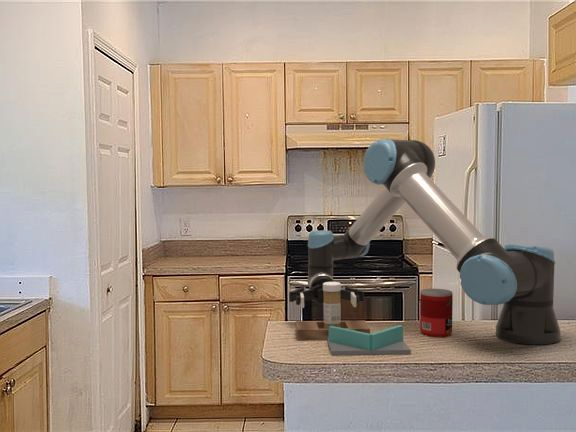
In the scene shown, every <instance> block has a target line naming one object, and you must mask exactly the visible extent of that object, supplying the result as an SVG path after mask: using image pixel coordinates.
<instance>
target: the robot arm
mask: <svg viewBox="0 0 576 432" xmlns="http://www.w3.org/2000/svg"><path fill="white" fill-rule="evenodd" d="M363 163H364V164H363V171H364V175H365V176H366V178H367V179H368V181H369V182H371V183H373V184H375V185H383V186H384V187H383V188H382V189H381V190H380V192H379V193H378V194H377V195H376V196H375V197H374V198H373V200H372V201H371V202H370V204H369V205H368V206H367V207H366V208H365V209H364V211H363V212H361V214H360V216H359V217H358V218H357V219H356V220H355V222H353V224H352V225H351V226H350V228H348V230H347V231H346V232H345V233H344V234H341V235H340V234H338V235H334V233H333V231H331V230H312V231H310V232H309V233H308V240H307V247H308V248H307V250H308V253H307V255H308V267H307V268H308V271H307V272H308V273H307V274H308V275H307V285H308V287H309V288H308V289H307V288H306V287H305V286H302V285H301V286H299V288H297V289H294V290H291V291H289V292H288V293H289V294H288V299H289V300H288V302H291V303H293V302H295V305H296V306H300V308H301V309H304V308H305V301H309V300H314V301H317V302H319V303H323V302H324V292H323V283H325V282H335V281H334V280H335V279H334V261H339V260H344V259H345V260H346V259H347V260H348V259H357V258H360V257H364V256H365V255H367V254H368V252H369V250H370V245H371V244H370V242H371V241H372V240H373V239H374V238H375V237H376V235H377V234H378V233H379V231H381V230H382V228H383V227H384V226H385V225H386V224H387V223H388V222H389V221H390V220H391V219H392V217H393V216H394V215H395V214H396V213H397V212H398V211H399V210H400V208H402V207H403V205H404V204H405V203H406V204H407V205H408V206H409V207H410V208H411V209H412V210H413V212H414V213H415V214H416V215H417V216H418V217H419V218H420V219H421V221H422V222H423V223H424V224H425V225H426V226H427V227H428V229H429V230H430V231H431V232H432V233H433V234H434V236H436V238H437V239H438V240H439V241H440V242H441V244H442V245H443V246H444V247H445V248H446V249H447V250H448V252H449V253H450V254H451V255H452V257H454V259H455V260H456V266H455V268H456V270H457V272H458V273H459V279H460V281H461V282H460V286H461V288H462V290H463V292H464V293H465V294H466V296H467V297H468V298H470V299H471V300H472V301H474V302H476V303H478V304H480V305H485V306H496V305H497V306H498V305H503V306H502V308H501V310H500V313H499V316H498V319H497V321H496V326H495V337H497V338H498V339H500V340H503V341H506V342H510V343H517V344H523V345H550V344H552V345H553V344H555V343H558V342H560V341H561V329H560V326H559V322H558V319H557V315H556V312H555V309H554V296H555V295H554V291H555V290H554V289H555V287H554V286H555V265H556V260H555V252H554V250H553V249H552V248H551V247H549V246H537V245H528V244H518V243H517V244H514V243H506V244H504V246H502V245H501V243H500V242H499V241H498V240H497V239H496V238H495V237H491V236H490V237H485V236H484V235H483V234H482V232H481V231H480V230H479V229H477V227H476V226H475V225H474V224H473V223H472V222H471V221H470V220H469V219H468V217H466V216H465V214H464V213H463V212H462V211H461V210H460V209H459V208H458V207H457V206H456V204H454V202H453V201H452V200H451V199H450V198H449V197H448V196H447V195H446V194H445V193H444V192H443V190H441V189H440V187H439V186H437V184H436V183H435V182H434V181H433V179H431V178H432V176H433V174H434V172H435V169H436V156H435V155H434V152H433V151H432V149H431V147H429V145H427V144H426V143H425V142H422V141H420V140H415V139H413V140H412V139H409V140H407V139H390V138H384V139H378V140H375V141H373V142H372V143H371V144H370V145H369V146H368V148H367V149H366V152H365V154H364V157H363ZM364 292H365V291H362V290H359V289H357V288H352V287H350V286H348V285H345V286H343V288H341V292H340V300H345V301H350V304H351V305H352V307H353V308H357V303H359V302H364V300H365V296H364V294H365V293H364Z"/></svg>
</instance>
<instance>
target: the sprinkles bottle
mask: <svg viewBox="0 0 576 432" xmlns="http://www.w3.org/2000/svg"><path fill="white" fill-rule="evenodd" d="M341 289H342V284H341V282H338V281H334V282H325V283H323V292H324V302H323V306H322V307H323V308H322V309H323V321H324V329H329V326H335V327H340V328H341V324H340V323H341V321H342V320H341V318H342V317H341V314H342V313H341V311H342V310H341V299H340V292H341Z"/></svg>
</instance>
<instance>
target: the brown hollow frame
mask: <svg viewBox="0 0 576 432" xmlns="http://www.w3.org/2000/svg"><path fill="white" fill-rule="evenodd" d="M340 324H341V328H344V329H349V330H354V331H359V332H364V333H369V334H371V328H370V327H369V325H368V323H367V322H366V320H357V319H356V320H355V319H354V320H341V323H340ZM295 333H296V340H297V341H327V338H329V329H324V320H299V321H297V320H296V321H295Z"/></svg>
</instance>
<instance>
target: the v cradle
mask: <svg viewBox="0 0 576 432" xmlns="http://www.w3.org/2000/svg"><path fill="white" fill-rule="evenodd" d="M326 341H327V344H328V348H329V351H330V354H331V356H380V355H381V356H384V355H385V356H386V355H388V356H390V355H411V354H412V350H411V348H410V347H409V346H408V344H407V343H406V342H405V340H404V325H400V324H398V325H394V326H391V327H388V328H385V329H381V330H378V331H375V332H372V333H371V332H370V334H369V333H364V332H359V331H354V330H349V329H344V328H340V327H335V326H329V338H327V340H326Z"/></svg>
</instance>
